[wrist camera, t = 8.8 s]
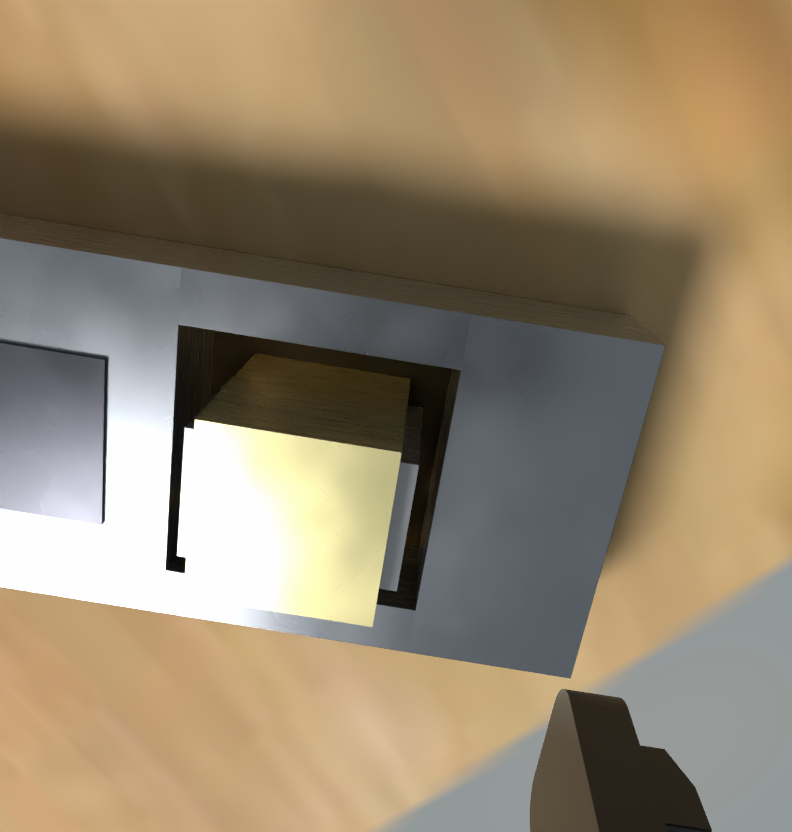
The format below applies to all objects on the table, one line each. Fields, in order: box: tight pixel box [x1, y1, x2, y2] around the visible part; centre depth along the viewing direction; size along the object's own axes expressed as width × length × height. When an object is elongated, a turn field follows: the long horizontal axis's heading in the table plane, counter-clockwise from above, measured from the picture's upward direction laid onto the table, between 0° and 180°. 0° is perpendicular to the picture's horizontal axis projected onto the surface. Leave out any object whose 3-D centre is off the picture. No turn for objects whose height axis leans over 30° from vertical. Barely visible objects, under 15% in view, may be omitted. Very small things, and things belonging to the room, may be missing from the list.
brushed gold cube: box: [177, 354, 422, 627], centre depth 17 cm, size 4×5×5 cm
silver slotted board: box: [0, 213, 665, 678], centre depth 18 cm, size 8×22×3 cm, turn 81°
